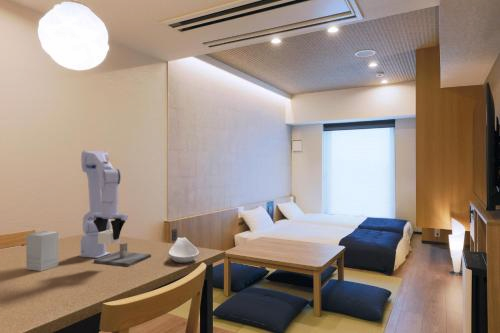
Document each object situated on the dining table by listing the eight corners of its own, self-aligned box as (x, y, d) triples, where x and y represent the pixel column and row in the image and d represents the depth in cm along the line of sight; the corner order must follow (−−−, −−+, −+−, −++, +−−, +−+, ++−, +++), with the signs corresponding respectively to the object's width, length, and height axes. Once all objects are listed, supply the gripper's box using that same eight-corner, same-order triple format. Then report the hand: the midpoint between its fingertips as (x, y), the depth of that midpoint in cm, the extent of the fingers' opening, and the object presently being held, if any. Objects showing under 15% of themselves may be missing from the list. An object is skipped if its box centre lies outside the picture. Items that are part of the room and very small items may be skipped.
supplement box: (59, 265, 123) (59, 231, 123) (40, 271, 116) (40, 235, 116) (44, 263, 125) (44, 230, 126) (25, 269, 118) (25, 234, 119)
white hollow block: (97, 243, 120) (98, 232, 120) (108, 240, 126) (108, 229, 126) (110, 244, 119) (110, 233, 119) (120, 241, 124) (120, 230, 124)
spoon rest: (201, 264, 126) (201, 245, 126) (169, 267, 123) (169, 247, 123) (192, 249, 149) (192, 234, 149) (165, 251, 145) (166, 235, 145)
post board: (94, 262, 127) (94, 245, 127) (118, 253, 141) (118, 238, 141) (129, 266, 123) (129, 248, 123) (151, 256, 136) (151, 240, 136)
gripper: (85, 202, 121) (85, 239, 121) (118, 203, 116) (118, 242, 116) (99, 200, 127) (99, 235, 127) (131, 201, 123) (131, 238, 123)
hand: (109, 238), depth 122 cm, fingers closed on white hollow block, 5 cm apart
